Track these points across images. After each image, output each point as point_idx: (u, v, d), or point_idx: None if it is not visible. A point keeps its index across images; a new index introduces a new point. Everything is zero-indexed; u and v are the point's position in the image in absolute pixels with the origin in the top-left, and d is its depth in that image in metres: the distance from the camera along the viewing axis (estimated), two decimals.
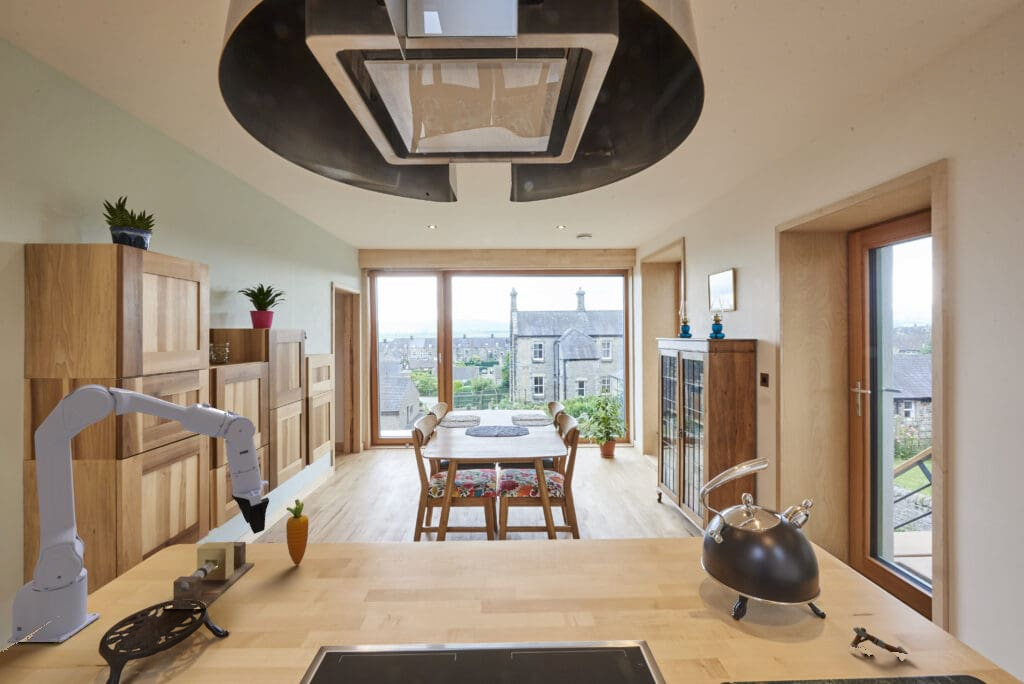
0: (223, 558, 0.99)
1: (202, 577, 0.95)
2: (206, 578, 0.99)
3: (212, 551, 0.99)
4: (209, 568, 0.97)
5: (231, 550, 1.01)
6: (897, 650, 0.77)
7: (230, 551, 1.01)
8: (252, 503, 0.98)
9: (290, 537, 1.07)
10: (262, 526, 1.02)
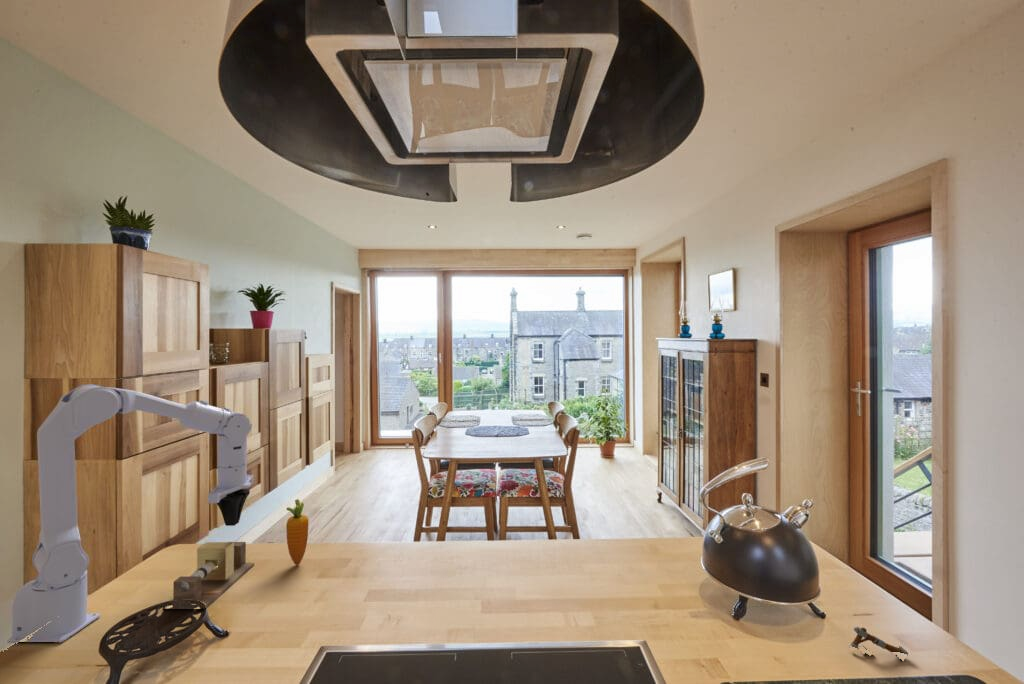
0: (223, 558, 0.99)
1: (202, 577, 0.95)
2: (206, 578, 0.99)
3: (212, 551, 0.99)
4: (209, 568, 0.97)
5: (231, 550, 1.01)
6: (898, 650, 0.77)
7: (230, 551, 1.01)
8: (209, 501, 0.99)
9: (290, 537, 1.07)
10: (233, 521, 1.05)
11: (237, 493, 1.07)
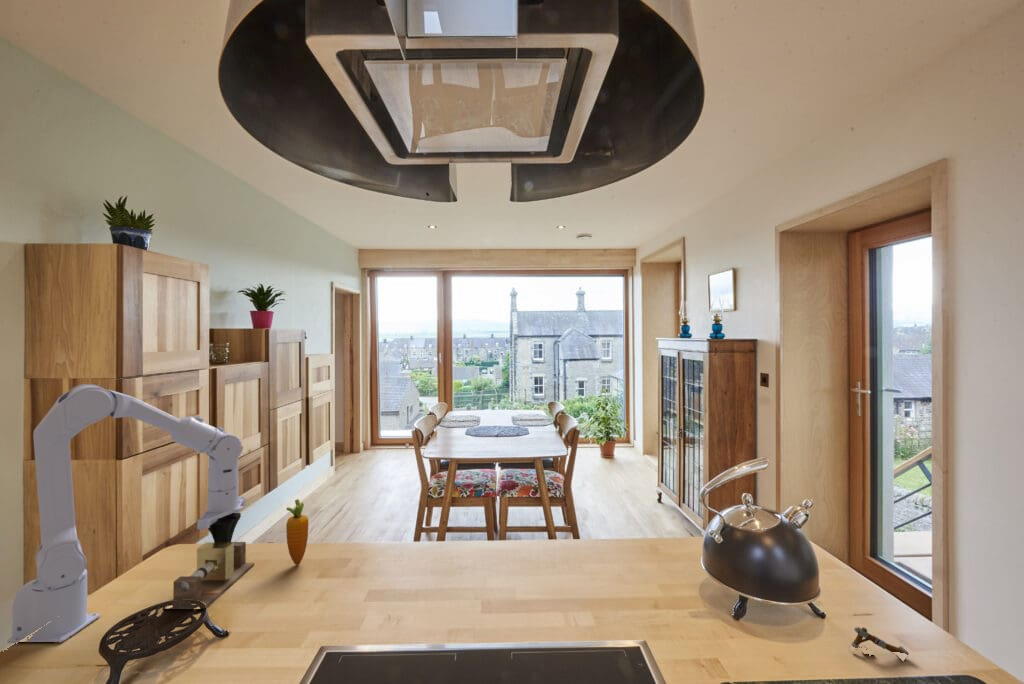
0: (223, 558, 0.99)
1: (202, 577, 0.95)
2: (206, 578, 0.99)
3: (212, 551, 0.99)
4: (209, 568, 0.97)
5: (231, 550, 1.01)
6: (898, 650, 0.77)
7: (230, 551, 1.01)
8: (198, 527, 0.96)
9: (290, 537, 1.07)
10: None
11: (228, 517, 1.03)
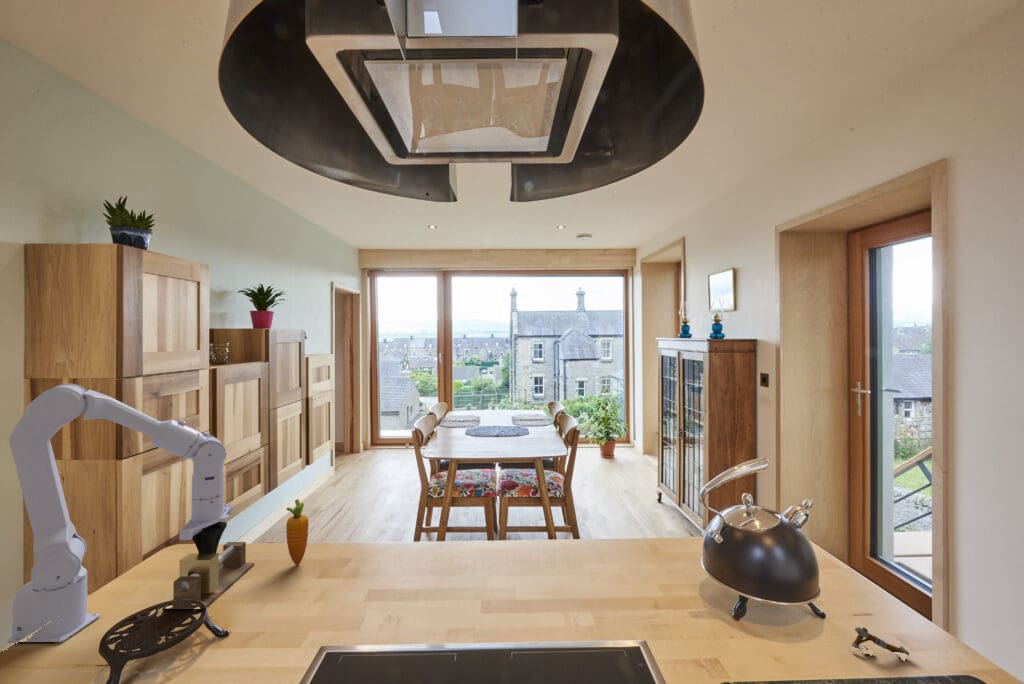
0: (207, 570, 0.94)
1: None
2: None
3: (195, 563, 0.94)
4: None
5: (216, 561, 0.96)
6: (899, 650, 0.77)
7: (215, 563, 0.95)
8: (180, 537, 0.90)
9: (290, 537, 1.07)
10: None
11: (213, 527, 0.98)
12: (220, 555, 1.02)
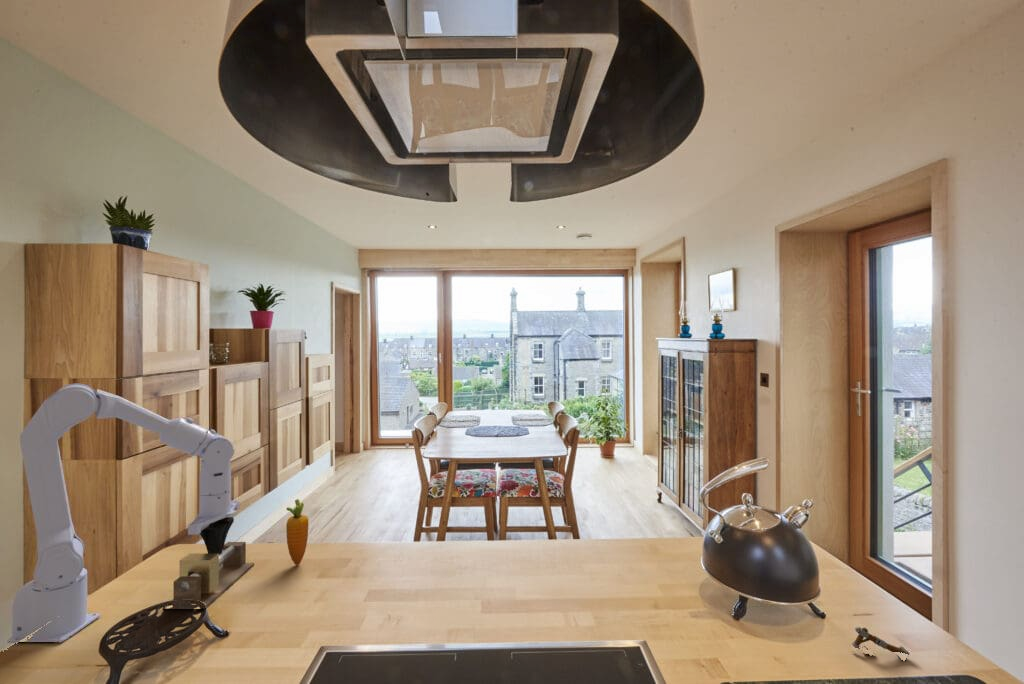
0: (207, 570, 0.94)
1: None
2: None
3: (195, 563, 0.94)
4: None
5: (216, 561, 0.96)
6: (899, 650, 0.77)
7: (215, 563, 0.95)
8: (189, 532, 0.93)
9: (290, 537, 1.07)
10: (216, 551, 0.99)
11: (220, 522, 1.00)
12: (220, 555, 1.02)
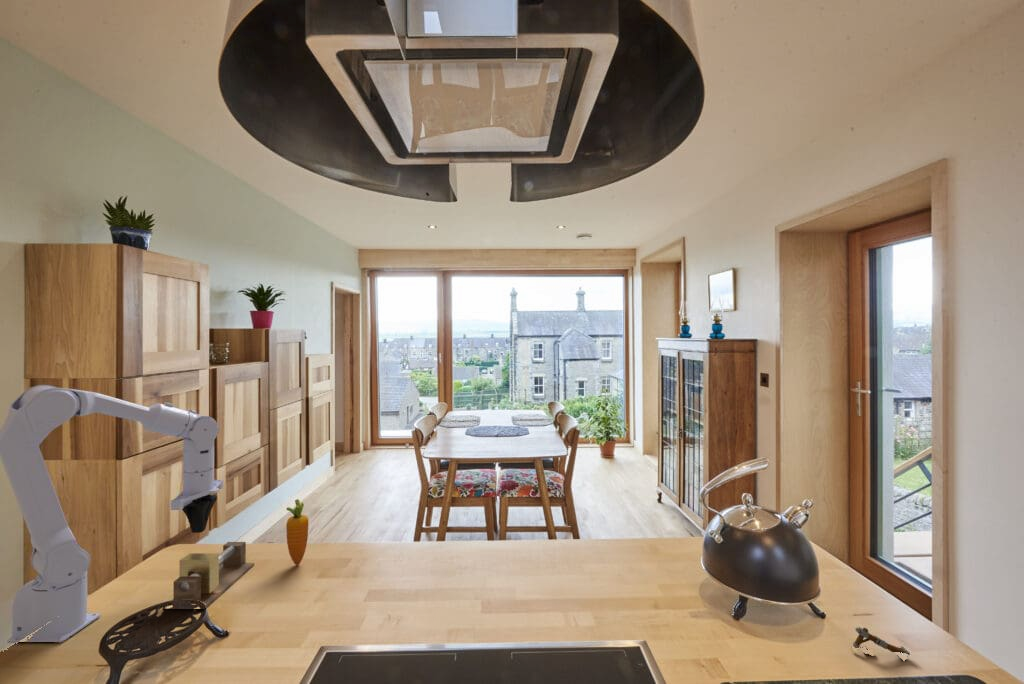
0: (207, 570, 0.94)
1: None
2: None
3: (195, 563, 0.94)
4: None
5: (216, 561, 0.96)
6: (899, 650, 0.77)
7: (215, 563, 0.95)
8: (172, 507, 0.95)
9: (290, 537, 1.07)
10: (199, 528, 1.02)
11: (203, 499, 1.03)
12: (220, 555, 1.02)
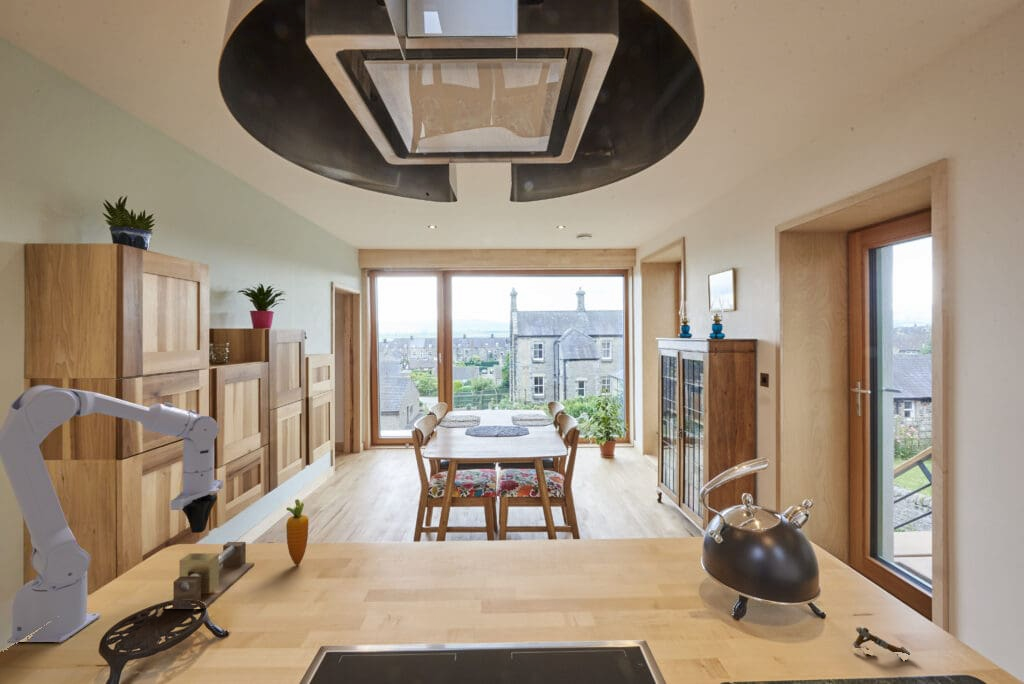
0: (207, 570, 0.94)
1: None
2: None
3: (195, 563, 0.94)
4: None
5: (216, 561, 0.96)
6: (900, 650, 0.77)
7: (215, 563, 0.95)
8: (172, 507, 0.95)
9: (290, 537, 1.07)
10: (199, 528, 1.02)
11: (203, 499, 1.03)
12: (220, 555, 1.02)
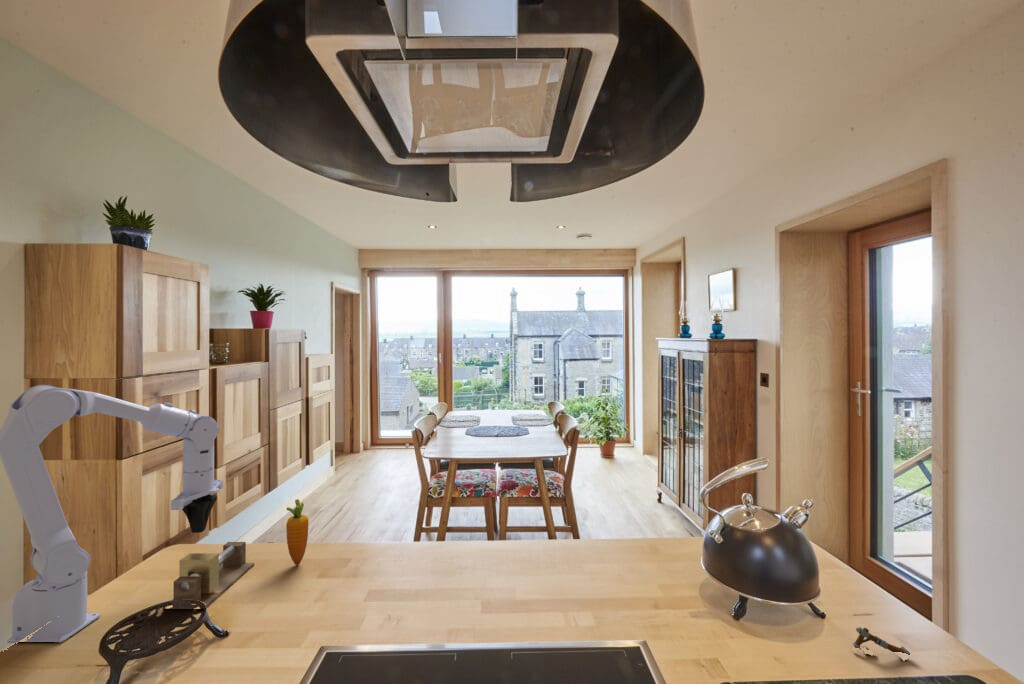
0: (207, 570, 0.94)
1: None
2: None
3: (195, 563, 0.94)
4: None
5: (216, 561, 0.96)
6: (900, 650, 0.77)
7: (215, 563, 0.95)
8: (172, 507, 0.95)
9: (290, 537, 1.07)
10: (199, 528, 1.02)
11: (203, 499, 1.03)
12: (220, 555, 1.02)
